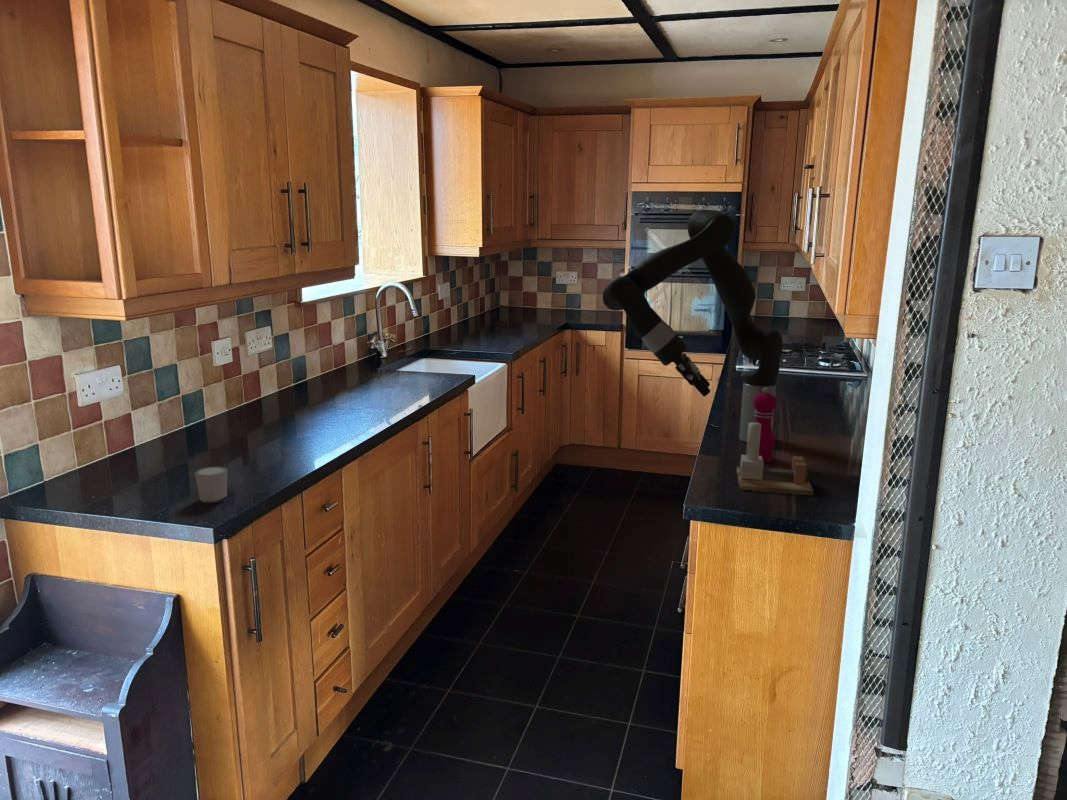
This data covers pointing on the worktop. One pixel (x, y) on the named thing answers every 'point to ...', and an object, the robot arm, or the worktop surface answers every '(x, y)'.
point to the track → (780, 480)
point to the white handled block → (752, 454)
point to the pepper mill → (765, 423)
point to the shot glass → (211, 483)
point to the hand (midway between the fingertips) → (707, 390)
